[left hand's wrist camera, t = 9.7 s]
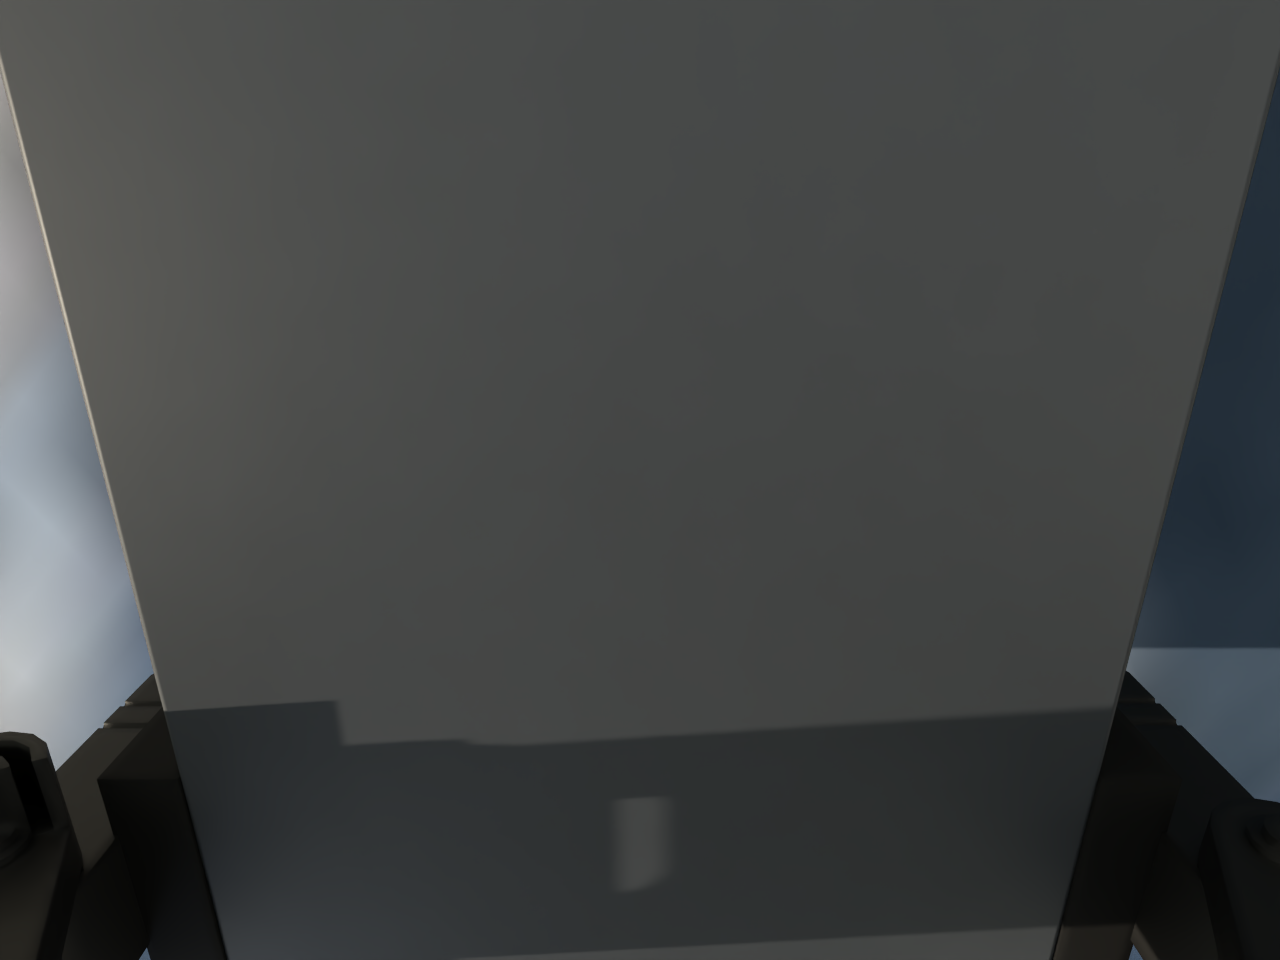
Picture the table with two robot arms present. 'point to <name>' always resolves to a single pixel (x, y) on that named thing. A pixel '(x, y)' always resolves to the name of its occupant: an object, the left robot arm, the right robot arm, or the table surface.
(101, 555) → the table surface
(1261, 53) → the wide beam
